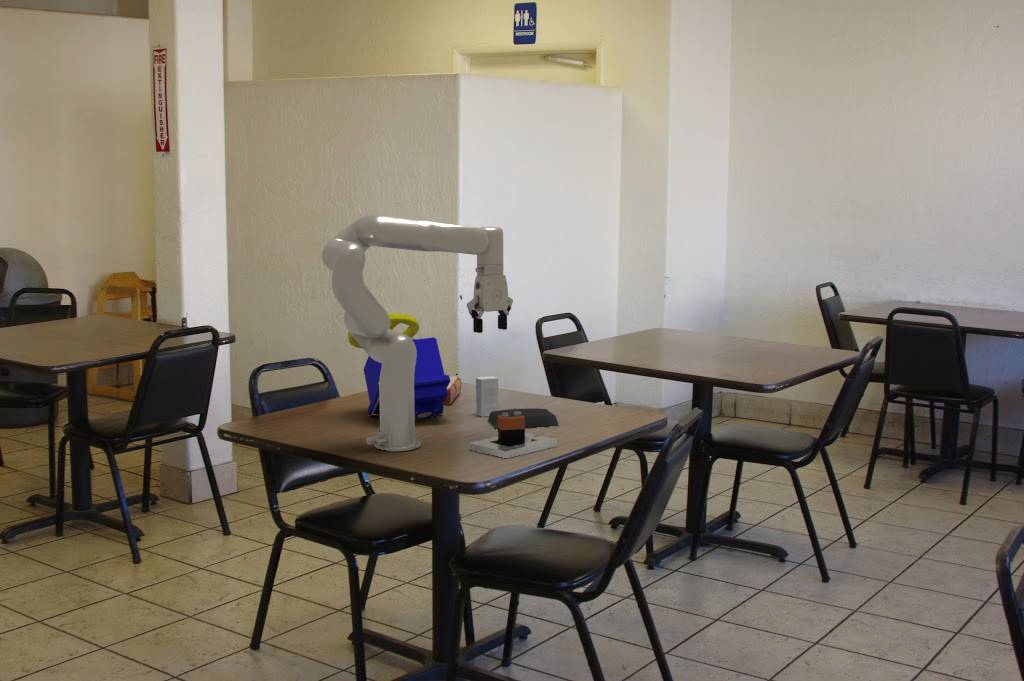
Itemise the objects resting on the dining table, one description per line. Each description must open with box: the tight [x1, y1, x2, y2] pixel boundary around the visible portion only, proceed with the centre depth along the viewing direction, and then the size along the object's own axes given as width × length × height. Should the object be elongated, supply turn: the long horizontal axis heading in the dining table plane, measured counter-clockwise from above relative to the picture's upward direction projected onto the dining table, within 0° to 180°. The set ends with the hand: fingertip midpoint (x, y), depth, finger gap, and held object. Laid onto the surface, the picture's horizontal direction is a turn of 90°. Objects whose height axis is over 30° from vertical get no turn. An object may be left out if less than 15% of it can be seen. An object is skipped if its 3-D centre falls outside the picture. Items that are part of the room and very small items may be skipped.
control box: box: [347, 312, 450, 421], centre depth 342 cm, size 26×27×30 cm
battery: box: [497, 411, 526, 447], centre depth 304 cm, size 4×7×10 cm, turn 102°
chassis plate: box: [468, 432, 558, 459], centre depth 304 cm, size 20×14×2 cm
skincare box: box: [475, 375, 500, 418], centre depth 347 cm, size 6×4×12 cm
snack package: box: [443, 375, 462, 406], centre depth 373 cm, size 21×7×7 cm, turn 174°
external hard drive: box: [487, 407, 559, 430], centre depth 335 cm, size 13×19×4 cm
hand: (490, 330), depth 316 cm, fingers open, 9 cm apart
